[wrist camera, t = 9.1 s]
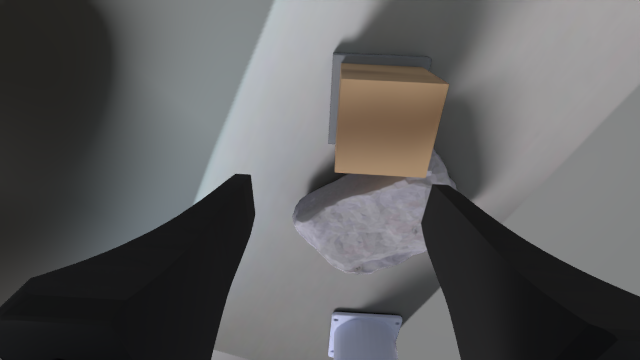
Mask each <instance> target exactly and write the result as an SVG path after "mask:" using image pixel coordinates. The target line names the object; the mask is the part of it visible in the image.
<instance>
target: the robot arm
mask: <svg viewBox="0 0 640 360" xmlns="http://www.w3.org/2000/svg"><path fill="white" fill-rule="evenodd" d="M254 218H255V208H254V199H253V190H252V181H251V175H248V174H235V175H233V176H232V177H231V178H229V179H228V180H227V181H225V182H224V183H223V184H221V185H220V186H219V187H218V188H216V189H215V190H214V191H212V192H211V193H210V194H208V195H207V196H206V197H204V198H203V199H202V200H200V201H199V202H197V203H196V204H195V205H193V206H192V207H190V208H189V209H187V210H186V211H184V212H183V213H181V214H180V215H178V216H177V217H175V218H173V219H172V220H170V221H168V222H167V223H165V224H163V225H161V226H160V227H158V228H156V229H154V230H152V231H150V232H148V233H146V234H144V235H142V236H140V237H138V238H136V239H134V240H132V241H129V242H127V243H125V244H123V245H121V246H119V247H116V248H114V249H112V250H109V251H107V252H105V253H102V254H99V255H97V256H94V257H92V258H89V259H87V260H84V261H81V262H78V263H76V264H73V265H70V266H67V267H64V268H61V269H58V270H55V271H52V272H49V273H46V274H43V275H40V276H36V277H33V278H30V279H29V280H28V281H27V282H26V283H25V284H24V285H23V286H22V287H21V288H20V289H19V290H18V291H16V293H14V294H13V295H12V296H11V297H10V298H9V299H8V300H7V301H6V302H5V303H4V304H3V305H2V306H1V307H0V358H1V359H2V360H211V357H212V353H213V349H214V345H215V341H216V337H217V333H218V329H219V325H220V321H221V317H222V314H223V310H224V307H225V303H226V299H227V296H228V293H229V290H230V287H231V284H232V281H233V279H234V276H235V274H236V271H237V269H238V266H239V263H240V261H241V258H242V256H243V253H244V251H245V248H246V246H247V243H248V240H249V238H250V235H251V231H252V227H253V222H254ZM421 227H422V232H423V237H424V241H425V245H426V248H427V251H428V254H429V256H430V259H431V262H432V264H433V267H434V270H435V272H436V275H437V278H438V280H439V283H440V286H441V288H442V291H443V293H444V296H445V299H446V302H447V305H448V309H449V312H450V316H451V320H452V324H453V328H454V332H455V335H456V340H457V344H458V348H459V353H460V357H461V360H640V297H639V296H637V295H634V294H632V293H630V292H627V291H625V290H623V289H620V288H618V287H616V286H613V285H611V284H609V283H606V282H604V281H602V280H600V279H598V278H596V277H594V276H591V275H589V274H587V273H585V272H583V271H581V270H579V269H577V268H575V267H573V266H571V265H569V264H567V263H565V262H563V261H561V260H559V259H558V258H556V257H554V256H552V255H550V254H548V253H546V252H545V251H543V250H541V249H540V248H538V247H536V246H535V245H533V244H531V243H529V242H528V241H526V240H525V239H523V238H521V237H520V236H518V235H517V234H515V233H514V232H512V231H511V230H509V229H508V228H506V227H505V226H503V225H502V224H501V223H499V222H498V221H496V220H495V219H494V218H492V217H491V216H489V215H488V214H487V213H485V212H484V211H483V210H481V209H480V208H479V207H478V206H476V205H475V204H474V203H472V202H471V201H470V200H468V199H467V198H466V197H465V196H463V195H462V194H461V193H459V192H458V191H457V190H455V189H454V188H452V187H451V186H449V185H443V184H432V187H431V191H430V194H429V197H428V201H427V204H426V208H425V211H424V214H423V218H422V221H421ZM401 324H402V317H401V316H398V315H381V314H364V313H347V312H334V313H332V320H331V330H330V341H329V351H328V355H329V356H330V357H334V360H398V354H397V348H396V343H395V342H396V339H397V336H398V333H399V330H400V327H401Z"/></svg>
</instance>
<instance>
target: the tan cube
mask: <svg viewBox="0 0 640 360" xmlns="http://www.w3.org/2000/svg"><path fill="white" fill-rule="evenodd" d="M448 87H449V84H448V83H446V82H445V81H443V80H442V79H440V78H439V77H437V76H436V75H434V74H432V73H431V72H429V71H428V70H426V69H425V68H423V67H411V66H390V65H370V64H349V63H341V69H340V84H339V98H338V113H337V127H336V145H335V172H337V173H353V174H369V175H386V176H402V177H418V178H426V174H427V170H428V166H429V162H430V158H431V154H432V150H433V146H434V142H435V138H436V134H437V130H438V126H439V122H440V118H441V115H442V111H443V107H444V103H445V99H446V95H447V91H448Z"/></svg>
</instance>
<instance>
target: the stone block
mask: <svg viewBox="0 0 640 360" xmlns="http://www.w3.org/2000/svg"><path fill="white" fill-rule="evenodd" d="M432 184H443V185H449V186H451V187H452V188H454V189H455V190H457V188H456V184H455V183H454V182H453V180H452V179H450V178H449V176H448V172H447V169H446V167H445V165H444V163H443V161H442V160H441V158H440V157H439V155H438V154H436V152H435V149H434V148H433V150H432V154H431V158H430V162H429V166H428V170H427V174H426V178H418V177H402V176H386V175H369V174H353V173H348V174H346V175H344V176H343V177H341V178H340V179H338V180H336V181H334V182H332V183H330V184H327V185H325V186H323V187H321V188H319V189H317V190H315V191H313V192H311V193H310V194H308V195H306V196H305V197H303V198H302V199H301V200H300V201H299V203H298V204H297V205H296V207H295V210H294V213H293V216H292V217H293V222H294V225H295V228H296V230H297V231H298V233H299V234H300V235H301V236H302V237H304V238H305V239H306V240H307V242H308V243H309V244H311V245H312V246H313V247H314V248H315V249H316V250H317V251H318V252H319V253H320V254H321V255H322V256H323V257H324V258H325V259H326V260H327V261H328V262H329V263H330V264H331V265H332V266H334V267H336V268H337V269H339V270H341V271H343V272H345V273H355V274H370V273H373V272H375V271H376V270H379V269H382V268H388V267H391V266H394V265H397V264H399V263H401V262H403V261H405V260H406V259H408V258H409V257H410V256H411V255H415V254H418V253H423V252H425V251H427V248H426V245H425V241H424V237H423V232H422V227H421V221H422V218H423V214H424V211H425V208H426V204H427V201H428V197H429V194H430V191H431V187H432Z"/></svg>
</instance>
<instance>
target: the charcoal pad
mask: <svg viewBox="0 0 640 360" xmlns="http://www.w3.org/2000/svg"><path fill="white" fill-rule="evenodd" d="M431 61H432V59H431V58H429V57H419V56H396V55H373V54H351V53H333V67H332V85H331V104H330V122H329V140H328V144H336V127H337V113H338V98H339V84H340V69H341V63H349V64H370V65H390V66H411V67H423V68H425V69H426V70H428V71H429V70H430V66H431Z"/></svg>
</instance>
